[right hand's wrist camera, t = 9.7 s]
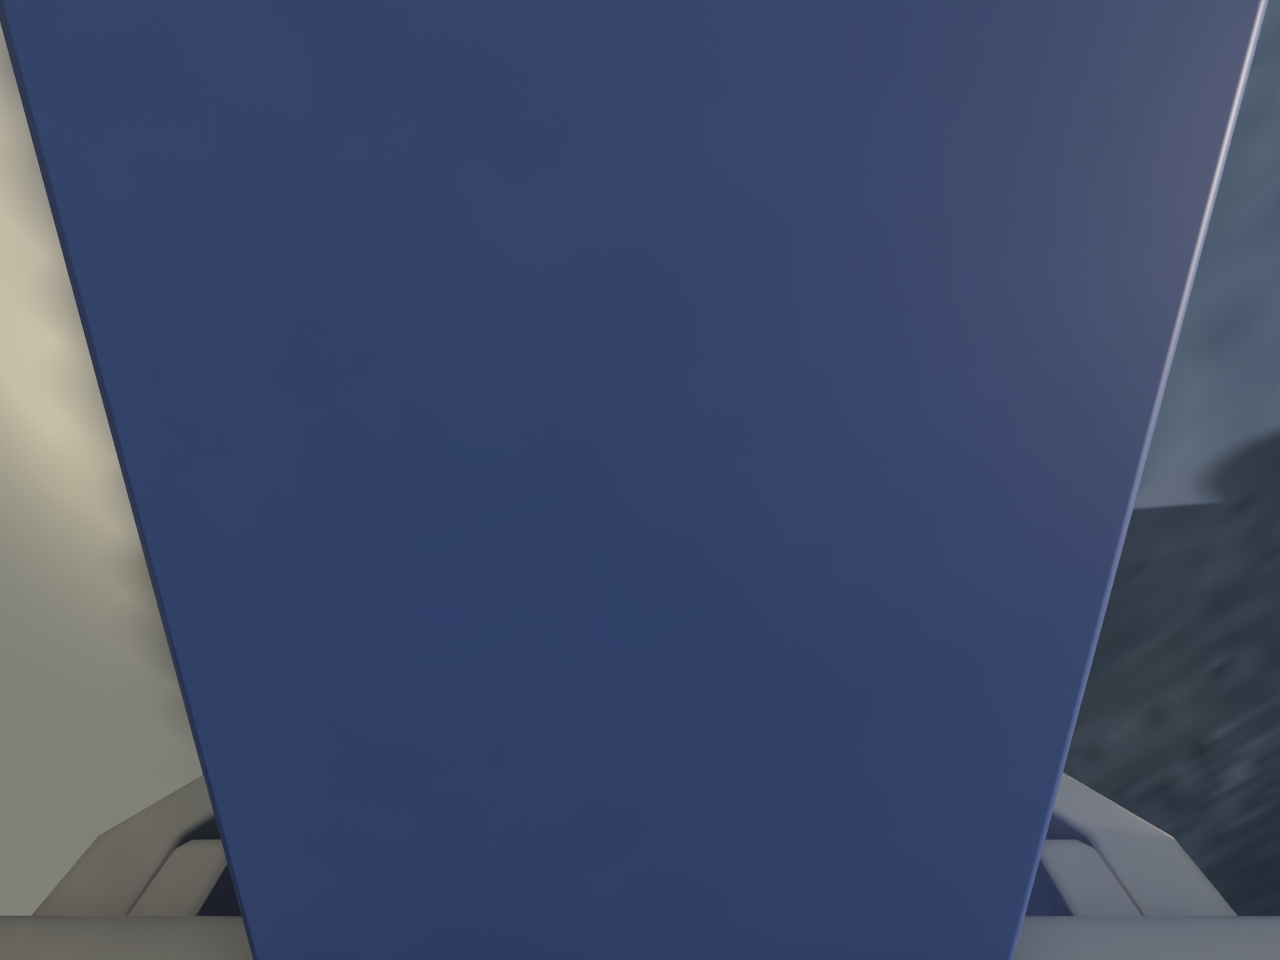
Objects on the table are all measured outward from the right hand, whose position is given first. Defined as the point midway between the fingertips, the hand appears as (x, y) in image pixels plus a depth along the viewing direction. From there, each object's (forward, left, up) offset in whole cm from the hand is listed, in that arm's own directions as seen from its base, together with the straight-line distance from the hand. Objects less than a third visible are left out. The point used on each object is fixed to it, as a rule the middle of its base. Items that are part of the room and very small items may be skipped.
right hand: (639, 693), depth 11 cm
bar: (+9, 0, -4) cm, 10 cm away
